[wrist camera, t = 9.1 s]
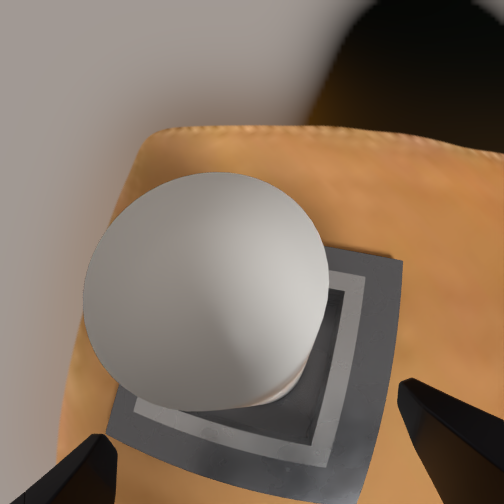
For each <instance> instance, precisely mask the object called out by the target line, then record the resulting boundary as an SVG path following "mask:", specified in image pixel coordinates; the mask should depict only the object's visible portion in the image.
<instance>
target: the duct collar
mask: <svg viewBox="0 0 504 504" xmlns="http://www.w3.org/2000/svg"><path fill="white" fill-rule="evenodd" d="M324 249H325V253H326V258H327V262H328V272H329V289H328V300H327V304H326V308H325V312H324V316H323V320H322V322H321V325H320V328H319V331H318V333H317V336H316V339H315V342H314V344H313V347H312V350H311V352H310V355H309V357H308V360H307V362H306V365H305V368H304V370H303V373H302V375H301V377H300V379H299V381H298V383H297V384H296V386H295V387H294V388H293V389H292V390H291V391H290V392H289V393H288V394H287V395H286V396H284V397H283V398H281V399H279V400H277V401H275V402H272V403H268V404H263V405H256V406H249V407H241V408H233V409H224V410H214V411H181V410H174V409H168V408H165V407H161V406H158V405H155V404H152V403H150V402H148V401H145V400H143V399H141V398H139V397H137V396H136V395H134V394H133V393H131V392H130V391H128V390H127V389H125V388H124V387H123V386H122V385H120V384H119V387H118V391H117V394H116V397H115V401H114V404H113V408H112V411H111V415H110V419H109V422H108V426H107V430H106V434H107V435H109V436H111V437H113V438H114V439H116V440H118V441H120V442H122V443H124V444H126V445H128V446H130V447H133V448H135V449H137V450H139V451H141V452H143V453H145V454H148V455H150V456H152V457H155V458H157V459H159V460H162V461H164V462H166V463H169V464H171V465H174V466H176V467H179V468H182V469H184V470H187V471H190V472H193V473H195V474H198V475H201V476H204V477H207V478H210V479H213V480H216V481H220V482H223V483H226V484H230V485H233V486H237V487H240V488H244V489H248V490H252V491H256V492H260V493H265V494H269V495H274V496H279V497H284V498H289V499H294V500H300V501H307V502H313V503H321V504H357V501H358V498H359V495H360V493H361V490H362V487H363V484H364V481H365V477H366V474H367V471H368V468H369V464H370V461H371V458H372V454H373V451H374V447H375V443H376V439H377V436H378V432H379V428H380V423H381V419H382V415H383V410H384V406H385V401H386V396H387V391H388V386H389V380H390V375H391V369H392V363H393V357H394V350H395V343H396V335H397V327H398V318H399V309H400V298H401V285H402V269H403V261H401V260H396V259H391V258H386V257H380V256H375V255H370V254H364V253H359V252H354V251H348V250H343V249H337V248H332V247H326V246H324Z"/></svg>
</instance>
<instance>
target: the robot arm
mask: <svg viewBox="0 0 504 504" xmlns="http://www.w3.org/2000/svg"><path fill="white" fill-rule="evenodd" d="M397 404H398V408H399V410H400V413H401V415H402V418H403V420H404V423H405V425H406V428H407V430H408V433H409V436H410V438H411V441H412V443H413V446H414V448H415V450H416V452H417V454H418V456H419V457H420V459H421V461H422V463H423V465H424V467H425V469H426V471H427V472H428V474H429V476H430V478H431V480H432V482H433V484H434V486H435V488H436V490H437V492H438V494H439V495H440V497H441V499H442V501H443V503H444V504H504V420H503V419H500V418H498V417H496V416H494V415H491V414H489V413H487V412H485V411H483V410H480V409H478V408H476V407H474V406H472V405H469V404H467V403H465V402H463V401H461V400H459V399H456V398H454V397H452V396H450V395H448V394H446V393H444V392H442V391H440V390H437V389H435V388H433V387H431V386H429V385H427V384H425V383H423V382H421V381H419V380H417V379H415V378H409V379H406V380H404V381H401V382H400V383H399V388H398V399H397ZM117 459H118V454H117V450H116V449H115V447H114V446H113V445H112V443H111V442H110V441H109V439H108V438H107V437H106V436H105V435H104V434H92V435H90V436H89V437H88V438H87V439H86V440H85V441H83V442H82V443H81V444H80V445H79V446H78V447H77V448H75V449H74V450H73V451H72V452H71V453H70V454H69V455H67V456H66V457H65V458H64V459H63V460H62V461H60V462H59V463H58V464H57V465H56V466H55V467H54V468H52V469H51V470H50V471H49V472H48V473H47V474H45V475H44V476H43V477H42V478H41V479H40V480H38V481H37V482H36V483H35V484H33V485H32V486H31V487H30V488H29V489H28V490H26V492H24V493H23V494H21V495H20V496H19V497H18V498H17V499H15V500H14V501H13V502H12V503H10V504H114V502H115V495H116V477H117Z"/></svg>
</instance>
